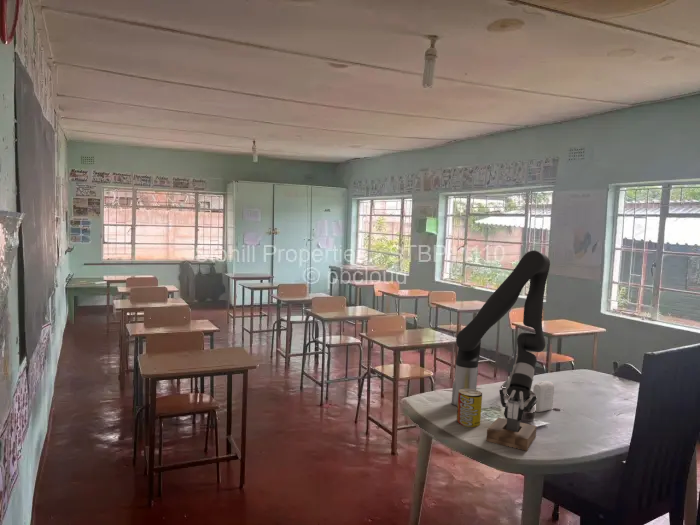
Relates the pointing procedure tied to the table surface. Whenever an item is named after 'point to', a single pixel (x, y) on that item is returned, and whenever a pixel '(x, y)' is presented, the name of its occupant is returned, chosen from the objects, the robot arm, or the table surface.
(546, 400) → the white rounded slab
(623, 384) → the table surface
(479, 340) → the robot arm
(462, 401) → the yellow tin can
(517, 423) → the white grey tall block
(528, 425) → the stand
